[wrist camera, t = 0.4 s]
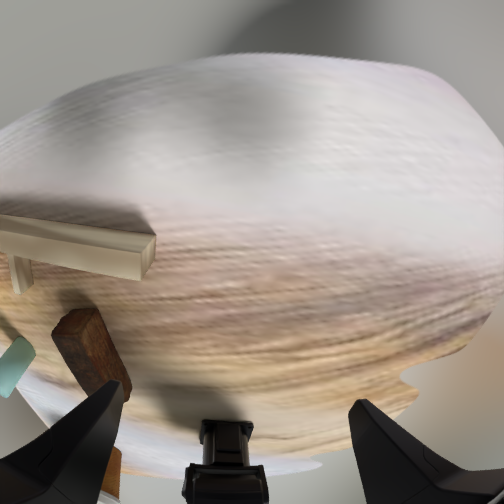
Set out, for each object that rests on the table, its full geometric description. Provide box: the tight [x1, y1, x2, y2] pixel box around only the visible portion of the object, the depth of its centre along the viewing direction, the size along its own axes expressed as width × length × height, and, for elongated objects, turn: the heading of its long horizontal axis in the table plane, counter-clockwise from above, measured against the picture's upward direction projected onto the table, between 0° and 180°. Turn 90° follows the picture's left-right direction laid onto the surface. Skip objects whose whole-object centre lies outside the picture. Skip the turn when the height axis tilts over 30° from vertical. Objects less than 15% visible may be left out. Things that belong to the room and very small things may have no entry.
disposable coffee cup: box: [97, 446, 122, 504], centre depth 27 cm, size 10×10×12 cm
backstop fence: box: [0, 214, 156, 295], centre depth 18 cm, size 7×22×4 cm, turn 80°
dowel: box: [0, 337, 36, 398], centre depth 20 cm, size 4×4×8 cm
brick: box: [51, 309, 132, 403], centre depth 22 cm, size 11×4×5 cm, turn 6°
